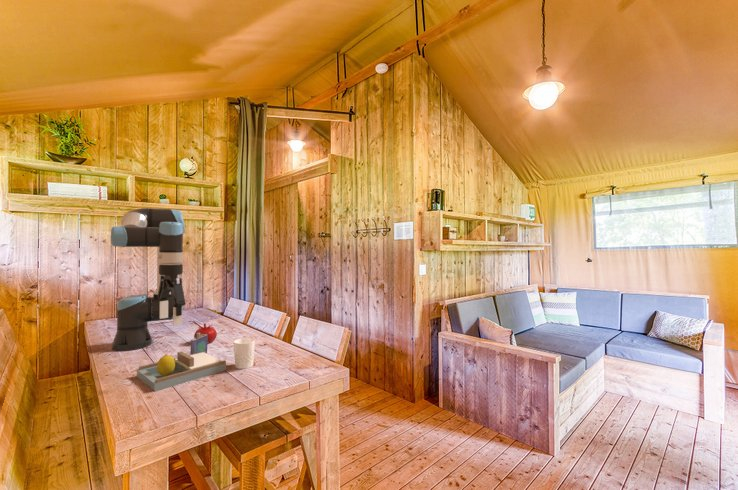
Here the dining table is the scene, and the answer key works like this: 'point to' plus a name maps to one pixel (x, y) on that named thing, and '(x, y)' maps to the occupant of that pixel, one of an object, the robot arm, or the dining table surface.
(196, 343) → the blue-grey curved piece
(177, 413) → the dining table surface
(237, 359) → the white cup
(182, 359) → the slide cover
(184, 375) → the sliding lid box
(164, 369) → the lemon
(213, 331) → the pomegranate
